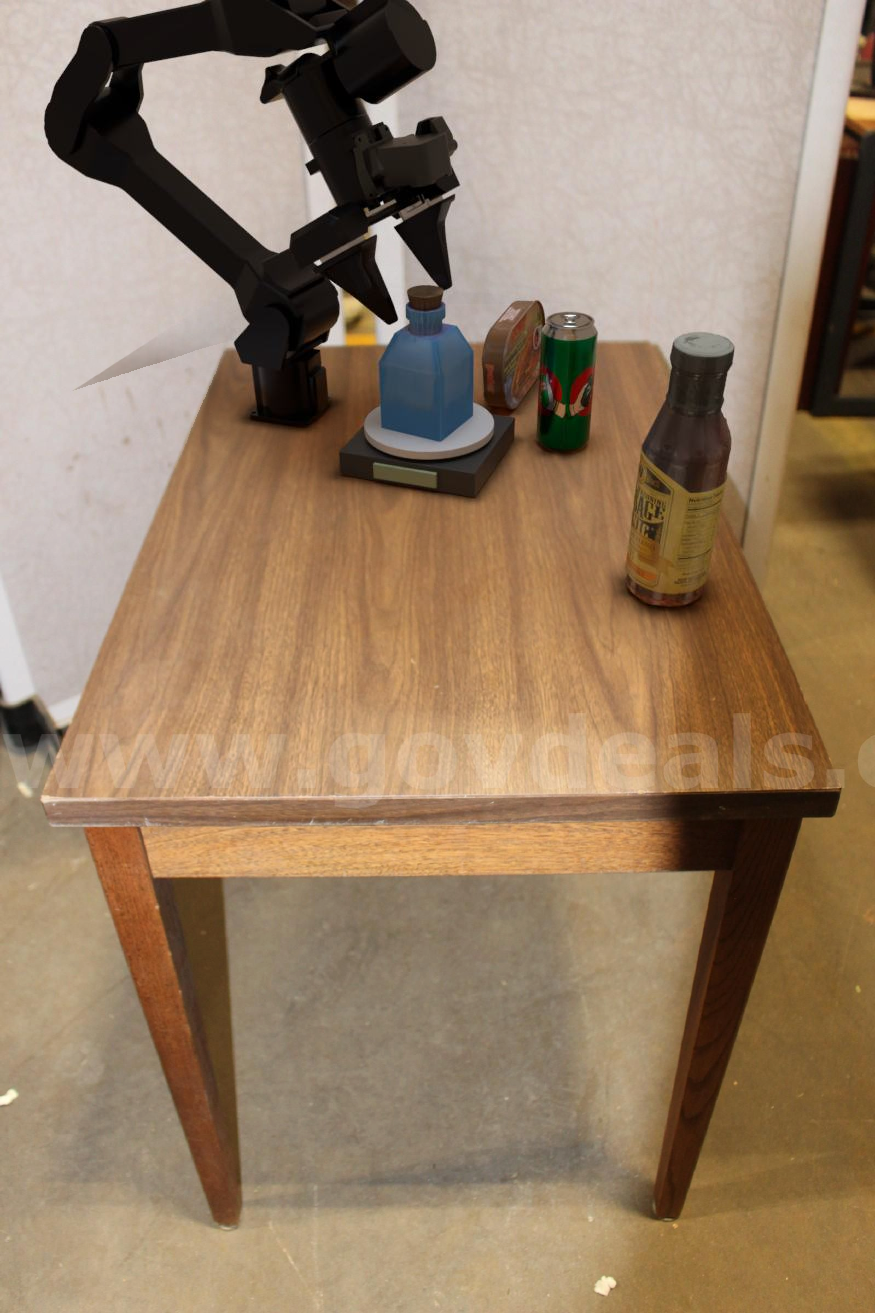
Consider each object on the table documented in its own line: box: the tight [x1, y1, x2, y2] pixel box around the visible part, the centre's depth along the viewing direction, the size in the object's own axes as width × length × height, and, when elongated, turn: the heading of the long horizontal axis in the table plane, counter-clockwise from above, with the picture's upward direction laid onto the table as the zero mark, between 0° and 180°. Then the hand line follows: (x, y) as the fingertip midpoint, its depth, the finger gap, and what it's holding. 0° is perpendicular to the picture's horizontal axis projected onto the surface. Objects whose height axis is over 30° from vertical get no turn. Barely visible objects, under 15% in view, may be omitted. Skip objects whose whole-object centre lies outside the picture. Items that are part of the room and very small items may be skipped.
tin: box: [481, 299, 546, 410], centre depth 110 cm, size 15×3×8 cm, turn 160°
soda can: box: [535, 311, 599, 453], centre depth 99 cm, size 5×5×12 cm
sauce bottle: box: [625, 331, 736, 608], centre depth 76 cm, size 6×6×20 cm
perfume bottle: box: [377, 284, 475, 442], centre depth 95 cm, size 6×6×12 cm
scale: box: [338, 401, 516, 498], centre depth 99 cm, size 13×12×4 cm
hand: (421, 305), depth 95 cm, fingers open, 9 cm apart
